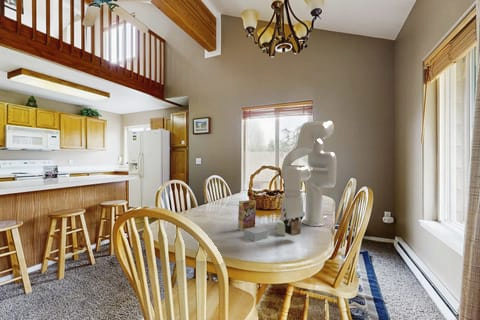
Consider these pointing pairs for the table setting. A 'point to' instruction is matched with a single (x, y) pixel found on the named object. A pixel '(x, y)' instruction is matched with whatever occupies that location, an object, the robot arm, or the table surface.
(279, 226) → the sage block
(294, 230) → the walnut block
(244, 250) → the table surface
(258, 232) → the pedestal block
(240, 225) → the candy box
